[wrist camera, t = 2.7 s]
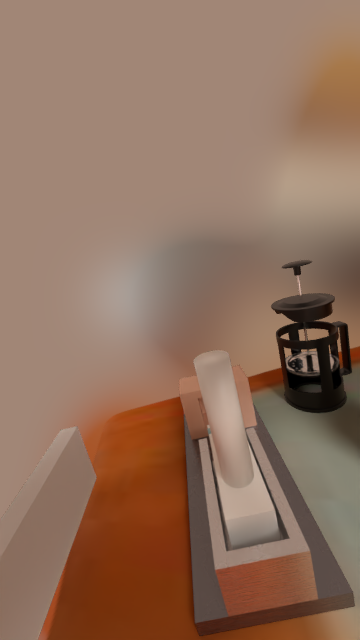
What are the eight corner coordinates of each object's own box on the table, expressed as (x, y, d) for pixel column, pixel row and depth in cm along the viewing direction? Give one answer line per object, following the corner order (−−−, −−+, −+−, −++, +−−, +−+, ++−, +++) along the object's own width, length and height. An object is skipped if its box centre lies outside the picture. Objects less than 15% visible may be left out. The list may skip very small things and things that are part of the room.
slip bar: (245, 445, 33) (219, 326, 29) (282, 547, 21) (248, 373, 18) (213, 452, 33) (183, 335, 29) (234, 557, 22) (189, 386, 18)
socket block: (248, 406, 44) (239, 364, 42) (257, 425, 39) (247, 379, 37) (189, 419, 44) (179, 379, 42) (191, 439, 39) (179, 394, 37)
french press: (297, 420, 40) (274, 271, 34) (272, 390, 49) (251, 269, 44) (371, 401, 40) (360, 250, 35) (332, 374, 49) (318, 252, 44)
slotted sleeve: (252, 406, 46) (245, 373, 44) (354, 606, 20) (347, 543, 18) (185, 421, 46) (177, 389, 45) (199, 636, 20) (179, 577, 19)
